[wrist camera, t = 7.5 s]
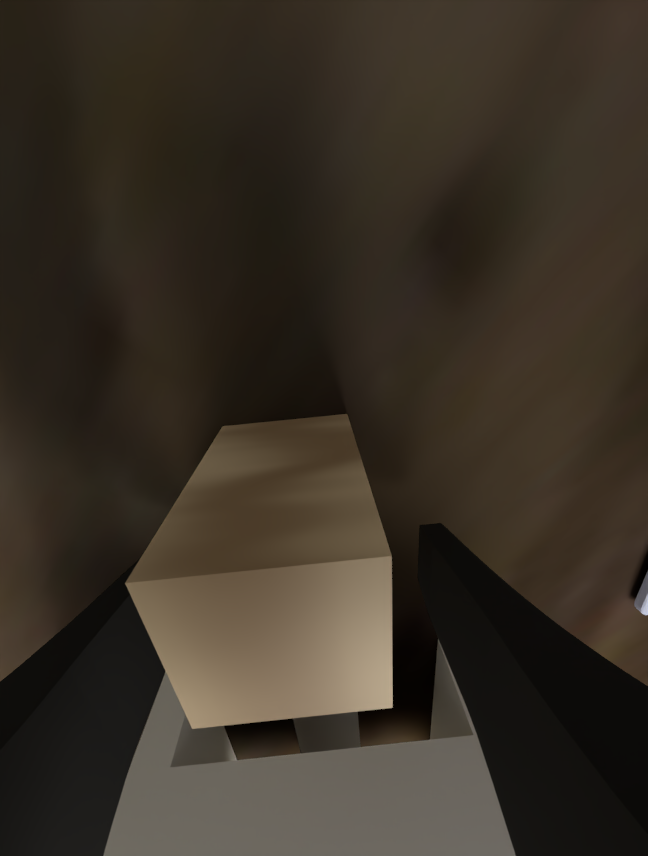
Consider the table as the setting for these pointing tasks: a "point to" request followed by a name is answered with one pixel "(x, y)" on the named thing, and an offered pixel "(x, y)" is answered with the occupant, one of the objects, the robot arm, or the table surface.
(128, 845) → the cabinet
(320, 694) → the wooden and grey bar
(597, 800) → the robot arm
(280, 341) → the table surface
